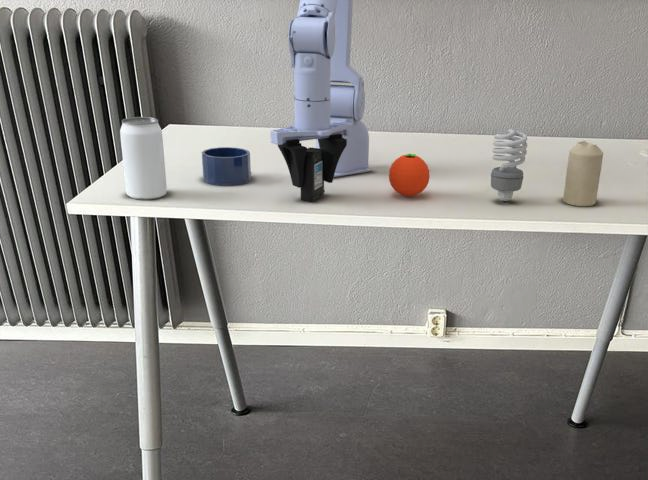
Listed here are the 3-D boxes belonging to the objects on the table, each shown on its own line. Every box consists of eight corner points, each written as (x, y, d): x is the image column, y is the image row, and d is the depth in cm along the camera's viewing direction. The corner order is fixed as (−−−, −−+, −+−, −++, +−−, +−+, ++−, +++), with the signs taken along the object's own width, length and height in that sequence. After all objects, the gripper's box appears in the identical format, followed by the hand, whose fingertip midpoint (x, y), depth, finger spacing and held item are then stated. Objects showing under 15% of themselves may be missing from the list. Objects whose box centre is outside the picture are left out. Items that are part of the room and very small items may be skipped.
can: (126, 201, 133) (118, 124, 128) (126, 190, 139) (118, 116, 134) (168, 199, 135) (161, 123, 130) (166, 189, 141) (160, 116, 135)
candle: (602, 204, 141) (611, 144, 137) (577, 208, 138) (586, 147, 134) (580, 196, 145) (588, 138, 141) (556, 199, 143) (563, 140, 138)
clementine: (392, 187, 146) (394, 146, 143) (431, 190, 145) (434, 149, 142) (384, 199, 139) (386, 156, 136) (425, 202, 138) (428, 159, 135)
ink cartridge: (313, 202, 136) (313, 153, 133) (300, 201, 137) (299, 152, 133) (324, 195, 140) (324, 147, 137) (312, 193, 141) (311, 146, 137)
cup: (235, 171, 153) (234, 145, 151) (259, 181, 147) (258, 154, 145) (195, 177, 148) (193, 150, 146) (217, 187, 142) (216, 159, 140)
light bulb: (511, 208, 137) (519, 134, 132) (481, 202, 140) (488, 129, 134) (527, 201, 141) (535, 129, 136) (497, 195, 144) (504, 124, 139)
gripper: (287, 106, 125) (288, 195, 131) (364, 98, 133) (362, 183, 139) (262, 99, 129) (265, 185, 135) (338, 92, 138) (337, 174, 144)
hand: (312, 183), depth 138 cm, fingers open, 5 cm apart
